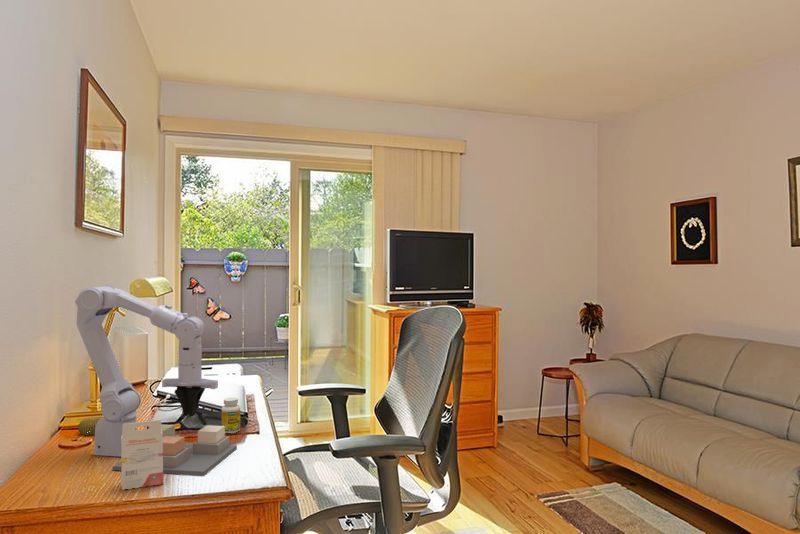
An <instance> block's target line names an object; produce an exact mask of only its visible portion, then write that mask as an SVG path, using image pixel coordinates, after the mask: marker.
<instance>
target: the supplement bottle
mask: <svg viewBox="0 0 800 534" xmlns="http://www.w3.org/2000/svg"><path fill="white" fill-rule="evenodd" d="M238 403H239V399H238V397H226V398H224V399H223V406H222V408H221V426H225V434H226V433H231V434H236V432H237V433H239V432H240V431H241V406H240V405H239V404H238ZM238 431H239V432H238Z"/></svg>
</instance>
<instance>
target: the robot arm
mask: <svg viewBox="0 0 800 534" xmlns="http://www.w3.org/2000/svg"><path fill="white" fill-rule="evenodd" d="M74 303H75V305H76V308H77V309H76V310H77V311H76V312H77V313H76V327H77V330H78V332H79V334H80V337H81V339H82V341H83V344H84V346H85V348H86V349H85V350H87V354H88V356H89V358H90V361H91V363H92V366H93V368H94V371H95V373H96V376H97V379H98V380H99V382H100V385H101V389H100V393H99V396H98V399H99V401H100V413H101V414H102V417H103V418H101V419H100V420H99V421H98V422H97V424H96V427H95V435H94V452H92V455H93V456H103V457H104V456H105V457H119V458H120V457H121V437H122V425H123V424H125V423H135V422H137V409H139V408H140V406H141V404H142V398H141V395H140V393H139V392H138V391H137V390H136V389H135V388H134V386H133V384H132V383H131V382H130V381H129V380H127V379H125V378H124V376H123V373H122V370H121V368H120V365H119V363H118V361H117V358H116V356H115V353H114V351H113V348H112V345H111V343H110V342H109V339H108V337H107V334H106V332H105V329H104V327H103V323H104V321H105V320H106V317H107V315H108V314H109V313H110V312H112V310H113V309H115V308H122V309H125V310H127V311H130V312H133V313H135V314H138V315H141V316H143V317H146V318H148V319H149V320H150V323H151V325H153V326H155V327H157V328H159V329H161V330H164V331H166V332H168V333H170V334H174V336H175V337H176V338H177V339H178V352H177V354H178V367H177V368H178V370H177V371H178V372H177V373H178V376H177V378H176V377H175V378H163V379H161V387H162V388H176V389H175V390H174V395H176V397H177V399H178V401H179V404H180V406H181V409H182V413H183V416H184V417H187V416H188V415H189V416H190V417H193V416H195V415H197V410H198V405H199V403H200V400H201V398H202V395H203V394H204V392H205V391H206V389H210V390H216V389H217V388H219V380H218V379H217V380H216V379H215V380H214V379H208V378H203V377H202V374H203V373H202V372H203V371H202V368H203V366H202V363H203V361H202V355H203V352H202V349H203V348H202V335H203V334H204V332H205V330H206V326H205V323H204V321H203V320H202V319H201V318H200V317H198V316H196V315H193V316H189V313H187V312H183V313H182V312H180V311H178V310H176V309H173V306H172V305H170V304H165V305H164V304H160V305H158V306H155V305H153V304H152V303H149V302H147V301H145V300H143V299H141V298H139V297H137V296H135V295H133V294H131V293H129V292H127V291H126V290H123V289H121V288H116V287H115V286H112V285H103V286H93V287H92V286H88V287H85V288H83V289H82V290H81V291H80V292H79V294H78V295H77V297H76V298H75V301H74ZM135 430H137V427H136V428H135Z"/></svg>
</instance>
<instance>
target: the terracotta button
mask: <svg viewBox="0 0 800 534" xmlns="http://www.w3.org/2000/svg"><path fill="white" fill-rule="evenodd" d="M185 439H186V438H185V436H180V437H176V436H165V437H163V456H176V455H177V454H179V453H180V452H182V451H183V450H184V448H185V443H186V440H185Z"/></svg>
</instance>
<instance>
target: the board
mask: <svg viewBox="0 0 800 534" xmlns="http://www.w3.org/2000/svg"><path fill="white" fill-rule="evenodd" d="M175 436H176V437H181V435H179V434H175ZM237 448H238V445H235V444H230V436H226V435H225V438H224V439H223V440H222V441H220V442H219V443H218V444H208V443H198V439H197V440H195V442H185V448H184V450H183V451H182V452H180V453H179V454H177V455H176V456H163V475H165V474H166V475H167V474H169V475H180V474H182V475H183V476H198V477H199V476H200V477H201V476H202V477H204V476H206V475H207V474H208V473H209V472H210V471H212V470H213V469H214V468H215V467H217V466H218V465H219V464H220V463H221V462H222V461H224V460H225V459H226V458H228V457H229V456H230V455H231V454H233V452H235V451H236V450H237ZM113 470H119V471H118V472H121V461H119V462H118V463H116V464H114V465H113V466H112V471H113ZM182 475H181V476H182Z"/></svg>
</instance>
